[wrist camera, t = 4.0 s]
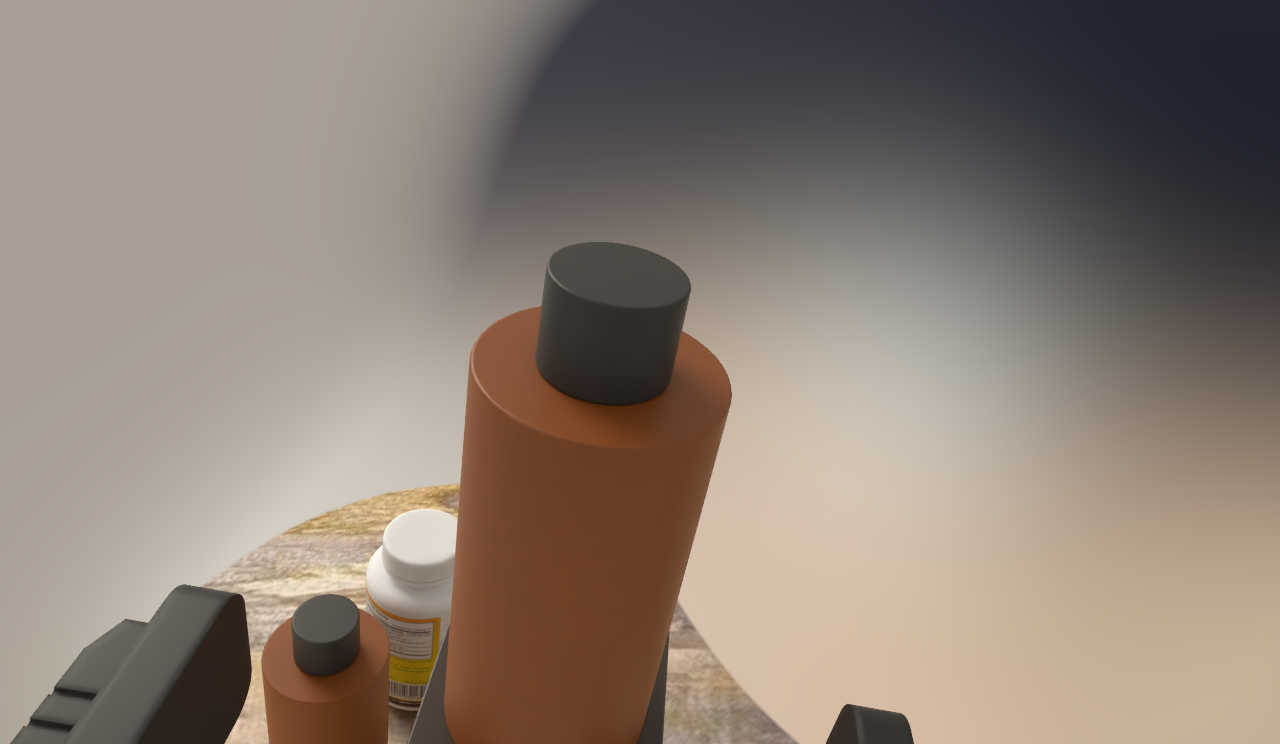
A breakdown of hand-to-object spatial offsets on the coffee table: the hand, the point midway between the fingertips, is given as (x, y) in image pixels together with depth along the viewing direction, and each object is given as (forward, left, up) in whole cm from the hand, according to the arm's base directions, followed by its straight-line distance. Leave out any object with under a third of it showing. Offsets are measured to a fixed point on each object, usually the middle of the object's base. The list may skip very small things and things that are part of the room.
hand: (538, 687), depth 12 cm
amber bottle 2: (0, +7, -9) cm, 11 cm away
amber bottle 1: (-9, +16, -31) cm, 36 cm away
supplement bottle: (-7, +23, -31) cm, 40 cm away
